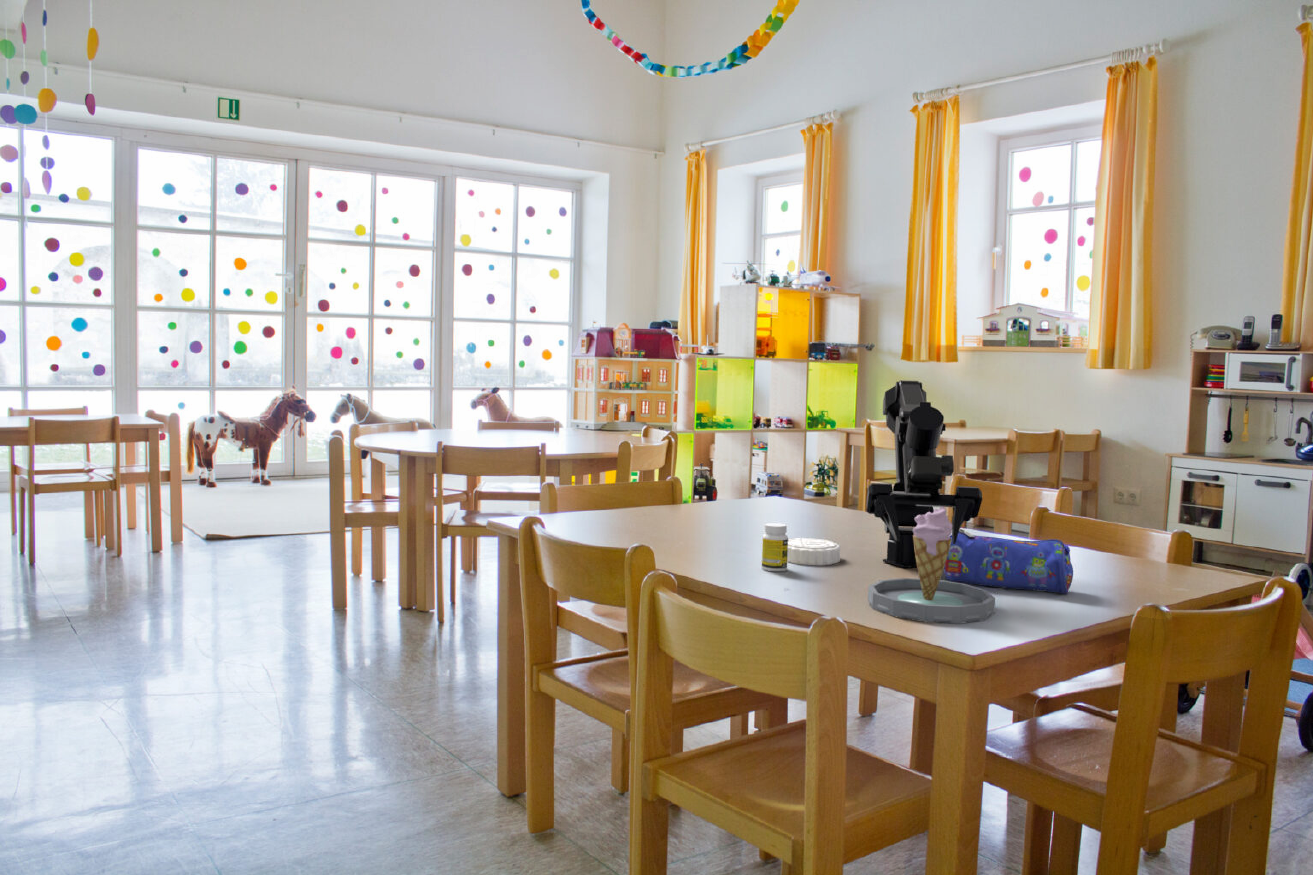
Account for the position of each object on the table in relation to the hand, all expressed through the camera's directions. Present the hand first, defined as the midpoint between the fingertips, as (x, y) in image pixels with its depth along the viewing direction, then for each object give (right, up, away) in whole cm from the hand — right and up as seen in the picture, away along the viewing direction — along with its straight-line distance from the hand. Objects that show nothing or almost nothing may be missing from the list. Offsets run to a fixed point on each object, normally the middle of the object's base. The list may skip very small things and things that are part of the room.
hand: (926, 541), depth 160 cm
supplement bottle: (-23, -8, +20) cm, 31 cm away
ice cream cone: (-1, -9, -6) cm, 11 cm away
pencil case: (+17, -9, +10) cm, 22 cm away
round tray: (-1, -10, -6) cm, 12 cm away
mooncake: (-15, -7, +30) cm, 35 cm away
